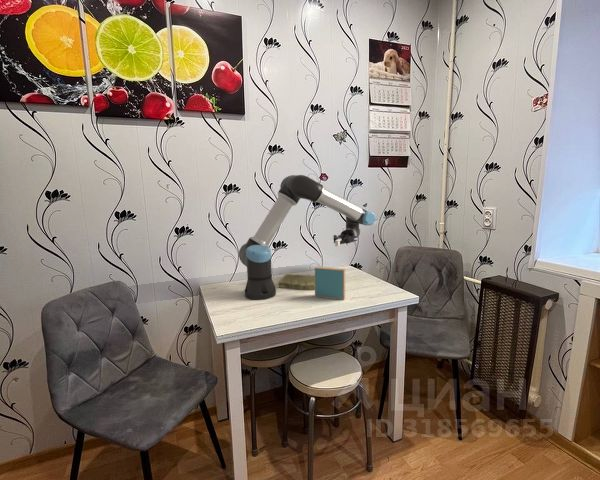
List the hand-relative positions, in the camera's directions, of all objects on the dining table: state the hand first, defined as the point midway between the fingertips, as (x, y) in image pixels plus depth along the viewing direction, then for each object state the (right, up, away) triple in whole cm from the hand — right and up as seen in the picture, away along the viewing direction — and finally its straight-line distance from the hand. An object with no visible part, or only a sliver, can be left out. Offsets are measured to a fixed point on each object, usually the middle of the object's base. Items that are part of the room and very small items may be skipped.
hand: (336, 243), depth 158 cm
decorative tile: (-18, -22, +14) cm, 32 cm away
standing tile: (-4, -25, -6) cm, 26 cm away
